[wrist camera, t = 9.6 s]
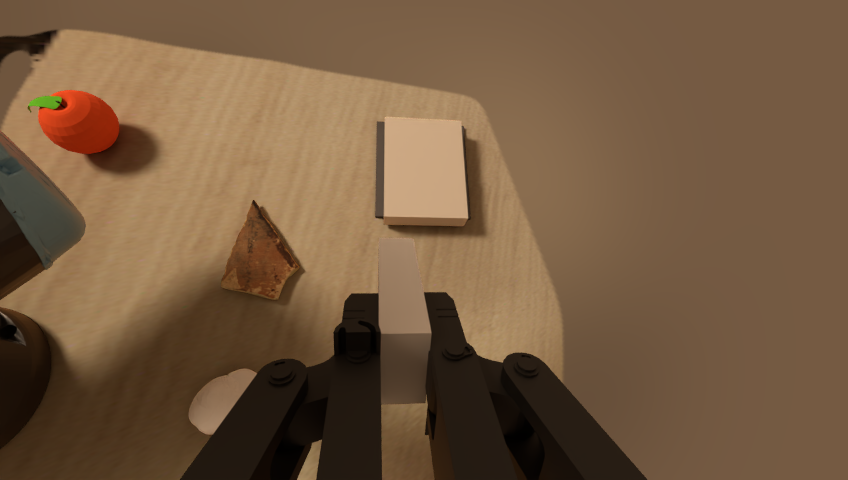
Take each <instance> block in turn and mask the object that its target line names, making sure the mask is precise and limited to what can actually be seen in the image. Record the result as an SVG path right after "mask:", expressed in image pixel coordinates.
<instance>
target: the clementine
mask: <svg viewBox="0 0 848 480" xmlns="http://www.w3.org/2000/svg"><path fill="white" fill-rule="evenodd" d="M29 106H39V107H40V109H39V114H38V118H39V123H40V125H41V128H42V130H43V132H44V133H45V135H46V136H47V137H48V138H49V139H50V140H51V141H53V142H54V143H55V144H57V145H58V146H60V147H62V148H64V149H66V150H68V151H72V152H77V153H82V154H90V153H96V152H101V151H103V150H106V149H107V148H109V147H110V146H111V145H112V144H113V143H114V142H115V141H116V139H117V137H118V134H119V122H118V118H117V116H116V114H115V113H114V111H113V110H112V108H111V107H110V106H109V105H108V104H106V103H105V102H104V101H103V100H101V99H100V98H98V97H96V96H94V95H92V94H89V93H87V92H82V91H75V90H65V91H60V92H57V93H54V94H52V95H51V96H44V97H39V98H36V99H34V100H32V101H31V102H30V104H29ZM29 106H28V109H29V111H30V112H31V110H30V107H29Z"/></svg>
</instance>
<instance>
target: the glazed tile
mask: <svg viewBox="0 0 848 480" xmlns="http://www.w3.org/2000/svg"><path fill="white" fill-rule="evenodd" d="M467 220H468V209H467V195H466V182H465V168H464V154H463V140H462V127H461V121H456V120H438V119H419V118H400V117H385V126H384V225H425V226H464V225H465V223H466V221H467Z"/></svg>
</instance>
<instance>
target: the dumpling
mask: <svg viewBox="0 0 848 480" xmlns="http://www.w3.org/2000/svg"><path fill="white" fill-rule="evenodd" d="M235 366H236V365H235ZM256 374H257V373H256V372H254V371H252V370H250V369H238V370H236V371H232V372H230V373H229V374H228V375H227V376H226V375H224V376H220V377H217V378H215V379H213V380H212V381H210V382H208V383H207V384H206V385H205V386H204V387H202V389H201V390H200V391H199V392H198V393H197V395H196V396H195V397H194V399H193V401H192V403H191V406H190V409H189V420H190V422H191V423H192V424H193V425H194V426H196V427H197V429H198V430H199V431H200V432H202V433H204V434H208V435H213V434H214V432H215V431H216V429H217V428H218V427H219V425H220V424H221V423H222V421H223V420H224V418H225V417H226V416H227V414H228V413H229V412H230V410H231V409H232V407H233V406H234V405H235V403H236V402H237V401H238V399H239V398H240V396H241V395H242V394H243V392H244V391H245V390H246V388H247V387H248V385H249V384H250V383H251V381H252V380H253V379H254V377H255V376H256Z"/></svg>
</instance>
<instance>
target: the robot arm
mask: <svg viewBox="0 0 848 480" xmlns="http://www.w3.org/2000/svg"><path fill="white" fill-rule="evenodd" d="M85 227H86V224H85V220H84V218H83V216H82V215H81V213H80V212H79V211H78V209H77V208H76V207H75V206H74V204H73V203H72V202H71V201H70V200H69V199H68V198H67V196H66V195H65V194H64V193H63V192H62V191H61V190H60V189H59V188H58V187H57V186H56V185H55V184H54V183H53V182H52V181H51V179H50V178H49V177H48V176H47V175H46V174H45V173H44V172H43V171H42V170H41V169H40V168H39V167H38V166H37V165H36V164H35V163H34V162H33V161H32V160H31V159H30V158H29V157H28V156H27V155H26V154H25V153H23V152H22V151H21V150H20V149H19V148H18V147H17V146H16V145H15V144H14V143H13V142H12V141H11V140H10V139H9V138H8V137H7V136H6V135H5V134H4V133H2V132H1V131H0V300H1V299H2V298H4V297H5V296H7V295H8V294H10V293H11V292H13V291H14V290H16V289H17V288H19V287H20V286H22V285H23V284H24V283H26V282H27V281H29V280H30V279H32V278H33V277H35V276H36V275H38V274H39V273H41V272H42V271H44V270H47V269H48V268H50V267H51V266H52V265H53V262H54V261H55V260H56V259H57V258H59V257H60V256H61V255H63V254H64V253H65V252H66V251H68V250H69V249H70V248H71V247H73V246H74V245H75V244H76V243H78V242H79V241H80V240H81V238H82V236H83V235H84V232H85ZM50 369H51V356H50V349H49V345H48V342H47V340H46V338H45V336H44V334H43V332H42V331H41V329H40V328H39V327H38V326H37V325H36V324H35V323H34V322H33V321H32V320H31V319H29V318H28V317H27V316H25V315H23V314H21V313H19V312H16V311H13V310H10V309H6V308H1V307H0V448H1V447H2V446H4V445H5V444H6V443H7V442H9V441H10V440H11V439H12V438H13V437H14V436H15V435H16V434H17V433H18V432H19V431H20V430H21V429H22V428H23V427H24V425H25V424H26V423H27V422H28V420H29V419H30V418H31V416H32V415H33V413H34V412H35V410H36V409H37V407H38V405H39V403H40V401H41V399H42V397H43V395H44V393H45V390H46V387H47V384H48V380H49V376H50ZM426 395H427V402H428V408H427V419H426V429H425V435H429V439H430V447H431V455H432V462H433V470H434V478H435V480H647V479H646V477H644V475H643V474H642V473H641V472H640V471H639V470H638V468H637V467H636V466H635V465H634V464H633V463H632V462H631V461H630V459H629V458H628V457H627V456H626V455H625V454H624V453H623V452H622V450H621V449H620V448H619V447H618V446H617V445H616V444H615V442H614V441H613V440H612V439H611V438H610V437H609V435H607V433H606V432H605V431H604V430H603V429H602V428H601V426H600V425H599V424H598V423H597V422H596V421H595V420H594V418H593V417H592V416H591V415H590V414H589V413H588V412H587V410H586V409H585V408H584V407H583V406H582V405H581V404H580V403H579V401H578V400H577V399H576V398H575V397H574V396H573V395H572V394H571V392H570V391H569V390H568V389H567V388H566V387H565V386H564V384H563V383H562V382H561V381H560V380H559V379H558V378H557V376H556V375H555V374H554V373H553V372H552V371H551V370H550V368H549V367H548V366H547V365H546V364H545V363H544V362H543V361H541V360H540V359H539V358H537V357H535V356H533V355H531V354H527V353H513V354H510V355H508V356H507V357H506V358H505V359H504V361H503V363H502V362H497V361H492V360H488V359H485V358H482V357H480V356H478V355H477V354H476V352H475V350H474V348H473V347H472V346H471V345H469V344H468V343H467V342H466V339H465V336H464V332H463V329H462V326H461V323H460V319H459V318H458V313H457V310H456V307H455V303H454V300H453V299H452V298H451V297H450V296H449V295H448V294H447V293H446V292H424V291H423V286H422V281H421V276H420V270H419V265H418V260H417V255H416V250H415V244H414V239H413V238H379V263H378V293H372V294H351V295H350V296H349V297H348V298H347V299H346V301H345V303H344V311H343V318H342V323H340V324H339V325H338V326H337V327H336V328H335V330H334V356H332V357H331V358H330V359H329V360H327V361H325V362H324V363H321V364H318V365H315V366H311V367H307V368H306V366H305V365H304V364H303V363H302V362H300V361H298V360H295V359H280V360H276V361H273V362H271V363H269V364H267V365H265V366H264V367H263V368H262V369H261V370H260V371H259V372H258V373H257V374H256V376H255V377H254V379H253V380H252V381H251V383H250V384H249V385H248V387H247V388H246V390H245V391H244V392H243V394H242V395H241V396H240V398H239V399H238V401H237V402H236V403H235V405H234V406H233V407H232V409H231V410H230V412H229V413H228V414H227V416H226V417H225V418H224V420H223V421H222V423H221V424H220V425H219V427H218V428H217V429H216V431H215V432H214V434H213V435H212V436H211V438H210V439H209V440H208V442H207V443H206V445H205V446H204V447H203V449H202V450H201V451H200V453H199V454H198V456H197V457H196V458H195V460H194V461H193V462H192V464H191V465H190V467H189V468H188V469H187V471H186V472H185V473H184V475H183V476H182V478H181V479H180V480H297V478H298V475H299V473H300V471H301V469H302V466H303V464H304V462H305V460H306V457H307V455H308V453H309V451H310V449H311V445H312V443H313V442H316V441H319V440H322V444H321V451H320V458H319V465H318V472H317V478H316V480H382V452H381V405H382V404H410V403H425V400H426Z"/></svg>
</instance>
